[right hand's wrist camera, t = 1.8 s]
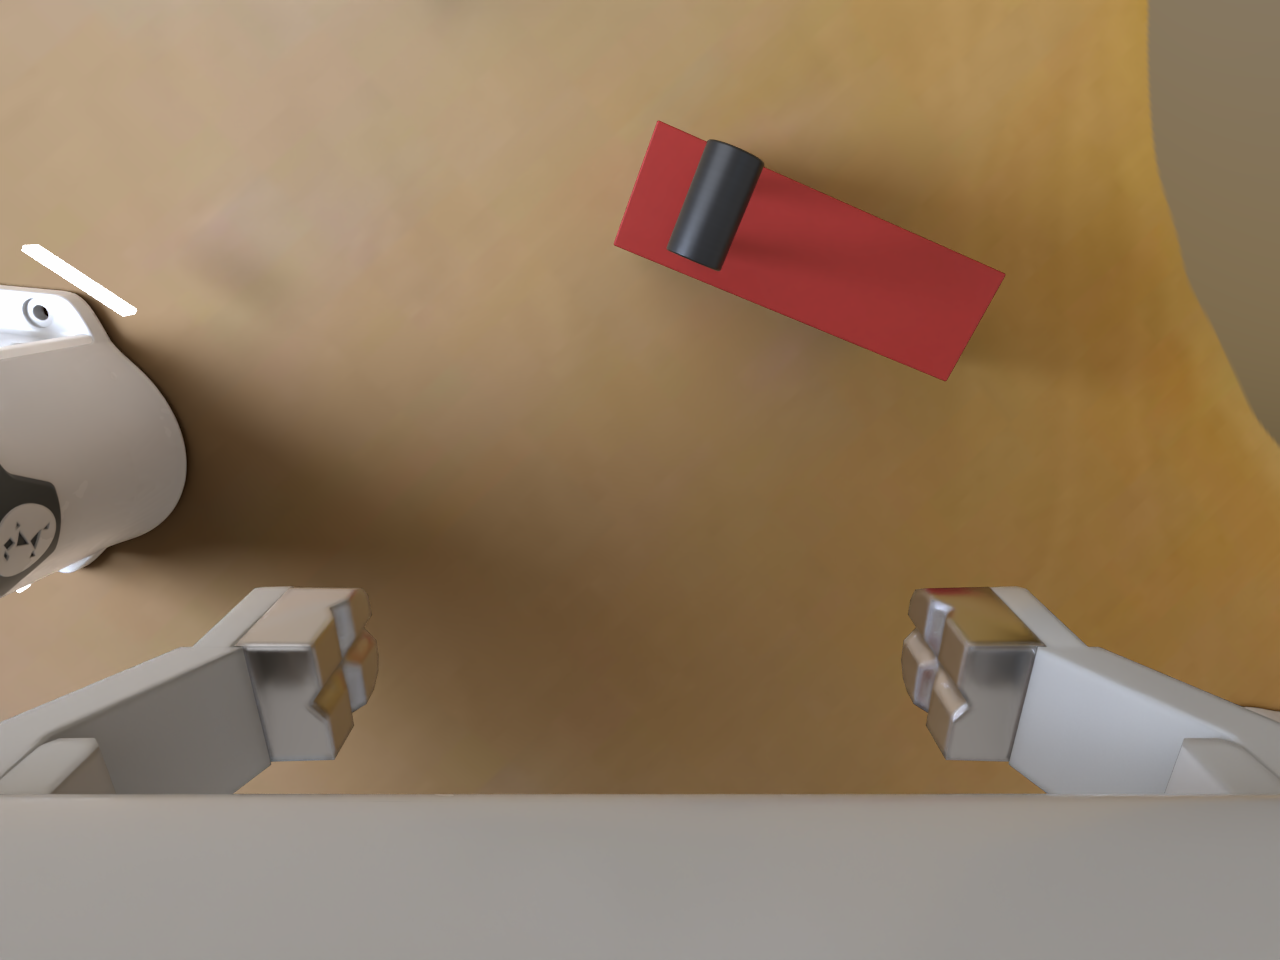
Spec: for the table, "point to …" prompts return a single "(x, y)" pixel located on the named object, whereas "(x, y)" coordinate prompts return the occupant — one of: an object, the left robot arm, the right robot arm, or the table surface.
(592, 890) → the right robot arm
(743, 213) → the lid
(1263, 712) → the left robot arm
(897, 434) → the table surface
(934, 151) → the table surface
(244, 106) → the table surface
